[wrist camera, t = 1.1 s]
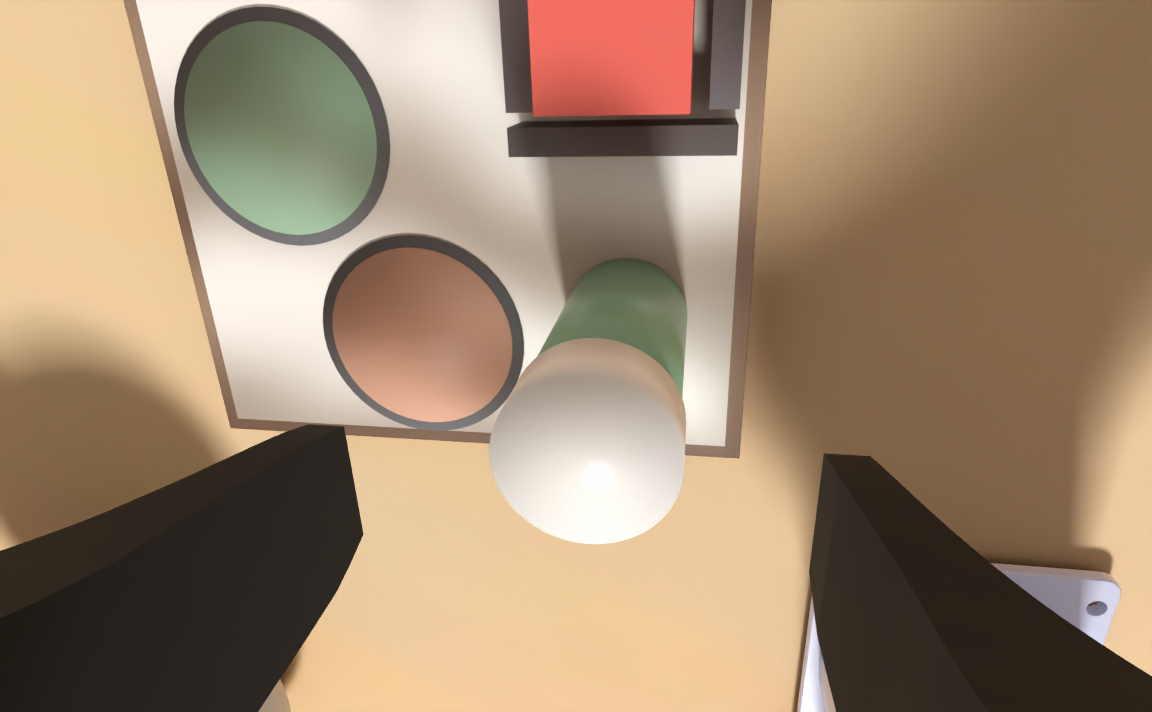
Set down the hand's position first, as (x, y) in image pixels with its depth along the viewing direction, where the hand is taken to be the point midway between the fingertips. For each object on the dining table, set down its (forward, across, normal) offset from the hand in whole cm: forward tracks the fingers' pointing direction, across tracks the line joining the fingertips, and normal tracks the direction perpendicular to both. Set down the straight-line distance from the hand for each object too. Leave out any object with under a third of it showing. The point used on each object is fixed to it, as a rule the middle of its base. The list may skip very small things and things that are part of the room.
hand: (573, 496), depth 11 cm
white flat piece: (+9, +4, -2) cm, 11 cm away
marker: (+8, 0, 0) cm, 8 cm away
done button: (+7, 0, -7) cm, 9 cm away
